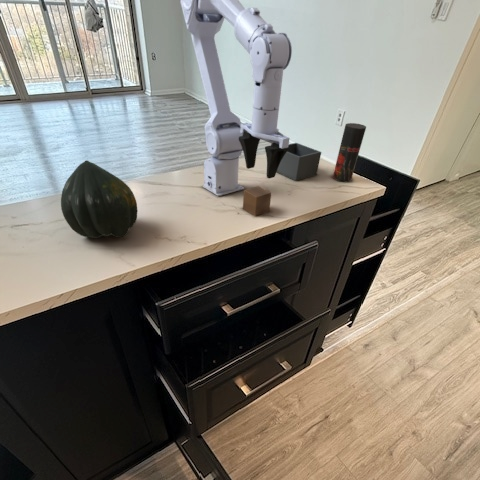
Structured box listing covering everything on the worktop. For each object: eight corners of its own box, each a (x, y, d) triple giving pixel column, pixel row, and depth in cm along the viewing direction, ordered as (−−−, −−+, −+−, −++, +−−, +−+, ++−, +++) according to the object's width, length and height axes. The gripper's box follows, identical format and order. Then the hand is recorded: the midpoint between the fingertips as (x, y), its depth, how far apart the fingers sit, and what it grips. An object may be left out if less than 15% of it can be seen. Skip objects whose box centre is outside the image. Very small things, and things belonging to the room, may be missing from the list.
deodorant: (353, 182, 101) (368, 129, 91) (334, 181, 101) (348, 127, 91) (348, 175, 105) (363, 123, 95) (331, 174, 105) (343, 122, 95)
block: (255, 216, 81) (256, 197, 78) (242, 208, 84) (243, 190, 80) (269, 211, 84) (271, 192, 80) (256, 204, 86) (258, 185, 83)
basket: (295, 181, 100) (299, 157, 95) (259, 164, 109) (261, 142, 104) (316, 174, 104) (321, 151, 99) (280, 159, 113) (283, 137, 109)
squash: (111, 234, 61) (119, 155, 60) (40, 227, 63) (47, 150, 62) (143, 248, 75) (149, 184, 74) (84, 242, 77) (90, 180, 76)
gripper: (303, 112, 67) (292, 178, 77) (257, 99, 75) (253, 161, 84) (279, 116, 64) (271, 184, 73) (234, 102, 71) (232, 165, 81)
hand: (260, 172), depth 78 cm, fingers open, 7 cm apart
